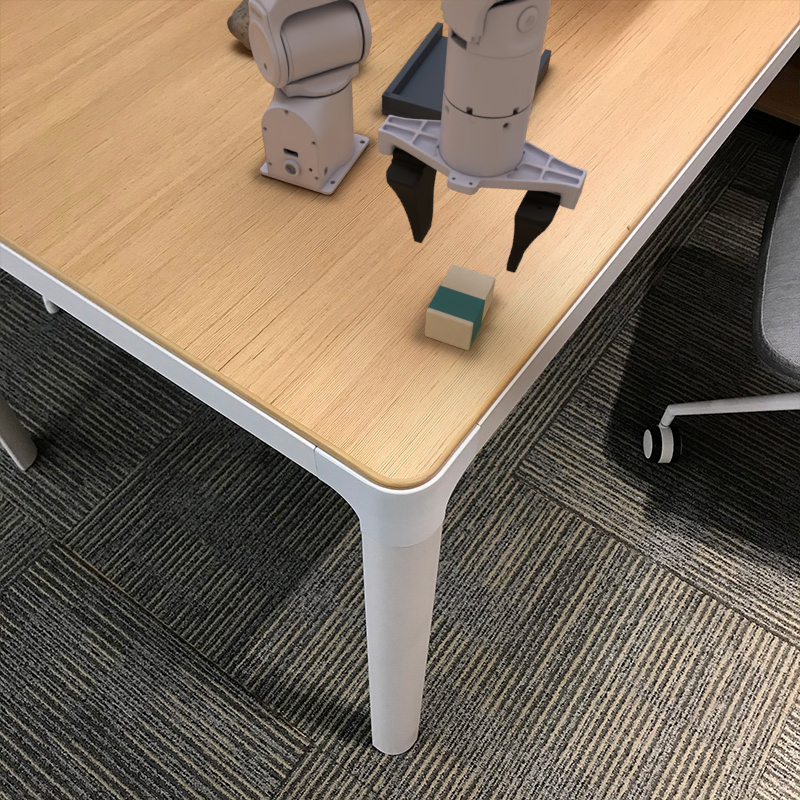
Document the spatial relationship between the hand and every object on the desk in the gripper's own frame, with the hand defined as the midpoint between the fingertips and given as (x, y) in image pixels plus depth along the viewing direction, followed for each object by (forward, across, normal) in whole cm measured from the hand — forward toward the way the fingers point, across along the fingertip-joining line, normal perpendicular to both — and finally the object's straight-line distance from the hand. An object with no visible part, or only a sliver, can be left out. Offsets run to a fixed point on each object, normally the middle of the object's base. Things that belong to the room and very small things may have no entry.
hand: (467, 248), depth 60 cm
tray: (+8, -11, +32) cm, 35 cm away
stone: (+9, -35, +31) cm, 48 cm away
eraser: (+8, 0, 0) cm, 8 cm away
